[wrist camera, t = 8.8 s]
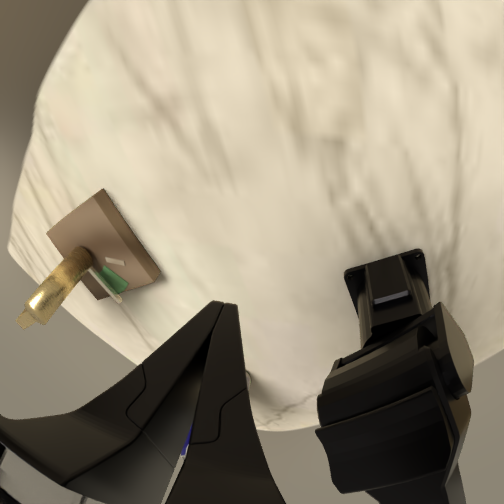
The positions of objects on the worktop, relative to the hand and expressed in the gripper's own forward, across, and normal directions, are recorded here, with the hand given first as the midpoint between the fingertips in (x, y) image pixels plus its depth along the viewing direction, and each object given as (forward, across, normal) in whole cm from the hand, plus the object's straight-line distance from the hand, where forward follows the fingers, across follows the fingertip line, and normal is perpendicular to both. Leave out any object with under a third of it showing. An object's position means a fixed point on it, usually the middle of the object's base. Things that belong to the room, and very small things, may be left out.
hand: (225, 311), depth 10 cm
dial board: (+12, +15, +8) cm, 21 cm away
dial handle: (+10, +17, +10) cm, 22 cm away
